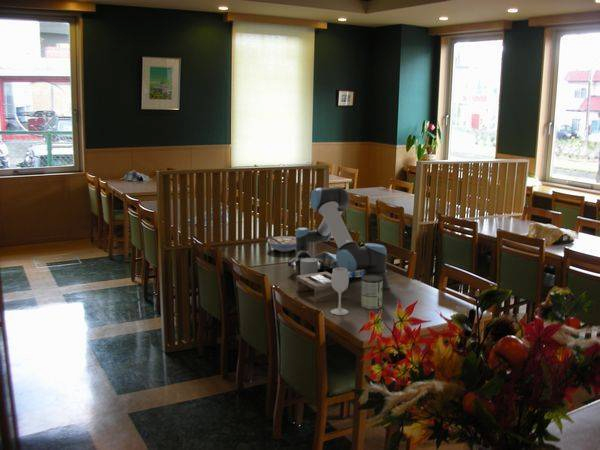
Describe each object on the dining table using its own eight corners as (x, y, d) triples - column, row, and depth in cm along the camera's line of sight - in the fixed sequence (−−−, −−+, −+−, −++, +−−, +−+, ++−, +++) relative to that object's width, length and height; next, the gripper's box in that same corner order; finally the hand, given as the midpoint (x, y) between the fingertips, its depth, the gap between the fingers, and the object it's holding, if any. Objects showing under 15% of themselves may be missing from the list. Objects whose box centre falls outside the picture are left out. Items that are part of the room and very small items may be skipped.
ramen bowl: (308, 253, 410) (308, 241, 408) (274, 256, 402) (274, 244, 400) (294, 245, 433) (294, 233, 431) (262, 248, 424) (262, 236, 423)
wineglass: (337, 308, 304) (338, 265, 300) (352, 311, 299) (353, 268, 294) (326, 312, 297) (327, 269, 293) (341, 316, 292) (342, 272, 288)
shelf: (347, 297, 320) (347, 282, 319) (316, 302, 312) (316, 286, 311) (326, 286, 339) (326, 271, 338) (296, 290, 332) (296, 275, 330)
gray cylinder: (315, 284, 342) (315, 262, 340) (298, 283, 344) (298, 261, 341) (318, 279, 351) (319, 258, 349) (302, 278, 353) (302, 257, 351)
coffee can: (359, 302, 313) (360, 274, 310) (380, 302, 313) (381, 274, 310) (362, 309, 303) (362, 280, 300) (383, 308, 303) (384, 280, 300)
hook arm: (334, 285, 319) (334, 281, 319) (323, 287, 317) (323, 283, 316) (319, 278, 333) (319, 274, 332) (309, 279, 330) (309, 276, 330)
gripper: (324, 263, 376) (329, 273, 355) (282, 264, 374) (284, 274, 353) (324, 251, 374) (329, 260, 353) (282, 252, 372) (284, 261, 351)
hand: (307, 267), depth 353 cm, fingers open, 13 cm apart
